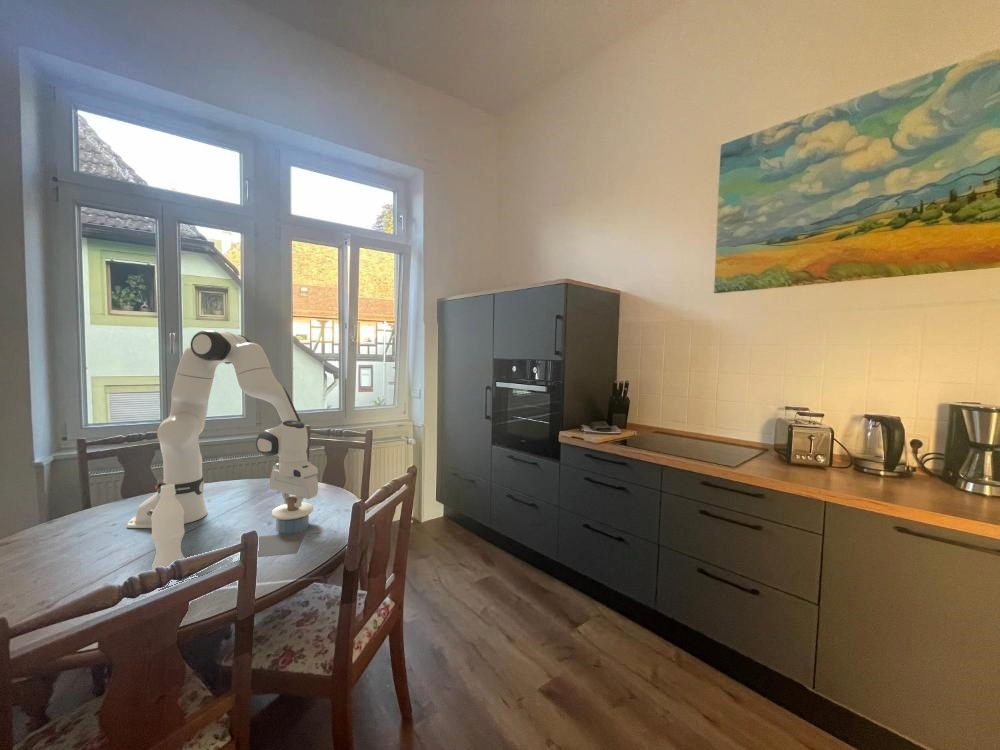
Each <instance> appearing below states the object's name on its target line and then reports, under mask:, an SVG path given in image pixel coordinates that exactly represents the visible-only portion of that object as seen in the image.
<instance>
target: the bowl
mask: <svg viewBox="0 0 1000 750" xmlns="http://www.w3.org/2000/svg"><path fill="white" fill-rule="evenodd" d="M275 520H276V522H275V530H276V531H277V533H279V534H282V535H284V534H297V533H301V532H302V531H304V530H306V529H308V527H309V526H310V514H309V515H307V516H304V517H301V518H297V519H290V520H281V519H276V518H275Z"/></svg>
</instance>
